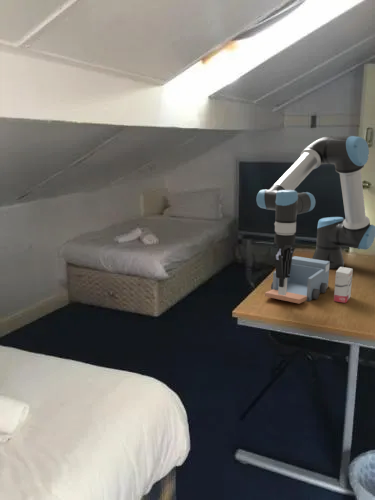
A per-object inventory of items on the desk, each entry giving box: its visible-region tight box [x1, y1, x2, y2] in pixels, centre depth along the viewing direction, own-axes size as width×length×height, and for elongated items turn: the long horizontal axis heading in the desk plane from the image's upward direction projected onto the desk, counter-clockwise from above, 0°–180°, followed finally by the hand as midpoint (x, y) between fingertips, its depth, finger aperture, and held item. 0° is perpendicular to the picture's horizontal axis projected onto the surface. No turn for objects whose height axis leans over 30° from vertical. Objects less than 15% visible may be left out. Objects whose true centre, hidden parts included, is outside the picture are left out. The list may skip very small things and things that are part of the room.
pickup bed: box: [270, 255, 330, 302], centre depth 192 cm, size 21×19×11 cm
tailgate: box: [264, 289, 307, 305], centre depth 180 cm, size 2×14×8 cm
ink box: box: [333, 266, 354, 304], centre depth 182 cm, size 9×5×12 cm, turn 150°
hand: (282, 294), depth 177 cm, fingers closed
